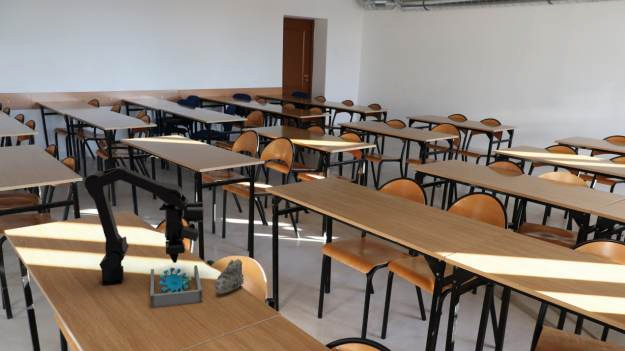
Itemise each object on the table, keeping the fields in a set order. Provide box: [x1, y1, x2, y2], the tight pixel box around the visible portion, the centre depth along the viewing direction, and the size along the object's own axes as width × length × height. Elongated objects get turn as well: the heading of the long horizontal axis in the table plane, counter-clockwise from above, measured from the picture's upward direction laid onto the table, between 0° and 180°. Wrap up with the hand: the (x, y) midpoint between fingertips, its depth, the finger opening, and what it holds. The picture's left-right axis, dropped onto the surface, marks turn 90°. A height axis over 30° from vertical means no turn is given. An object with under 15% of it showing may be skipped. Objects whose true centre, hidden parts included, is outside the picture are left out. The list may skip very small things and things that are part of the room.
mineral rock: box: [214, 258, 245, 294], centre depth 162 cm, size 13×11×10 cm
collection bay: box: [149, 264, 203, 308], centre depth 159 cm, size 16×20×4 cm
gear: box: [158, 267, 192, 293], centre depth 159 cm, size 11×6×10 cm
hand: (174, 262), depth 166 cm, fingers closed
